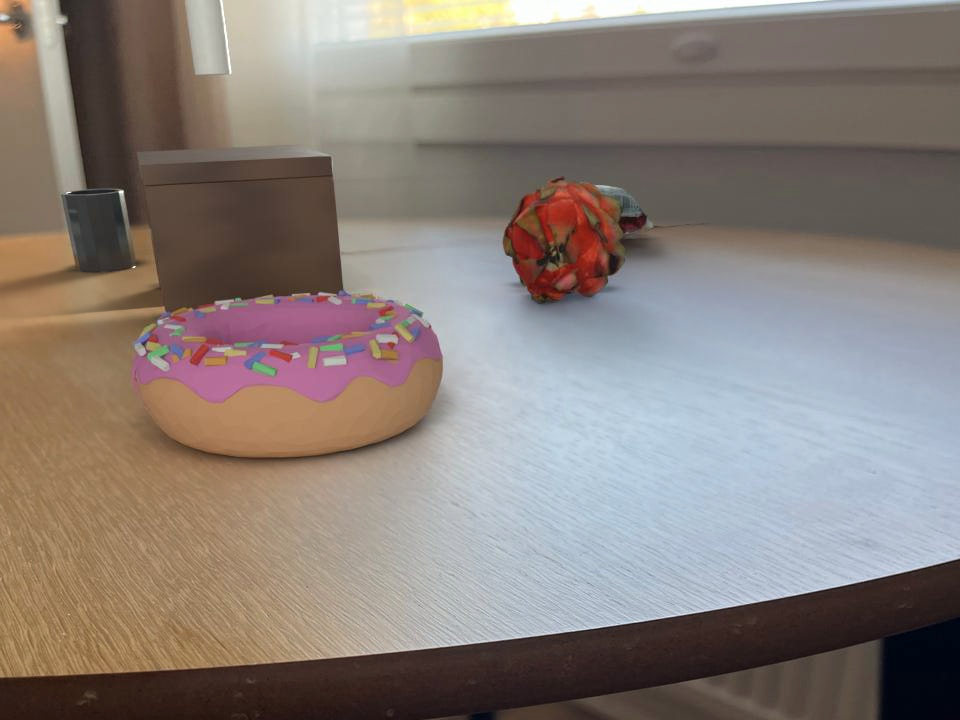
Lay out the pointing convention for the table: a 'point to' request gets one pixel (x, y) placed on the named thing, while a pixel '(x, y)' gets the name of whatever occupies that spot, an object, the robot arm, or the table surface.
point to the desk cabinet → (241, 223)
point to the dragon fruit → (565, 240)
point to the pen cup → (99, 230)
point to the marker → (208, 37)
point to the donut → (288, 373)
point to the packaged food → (627, 210)
